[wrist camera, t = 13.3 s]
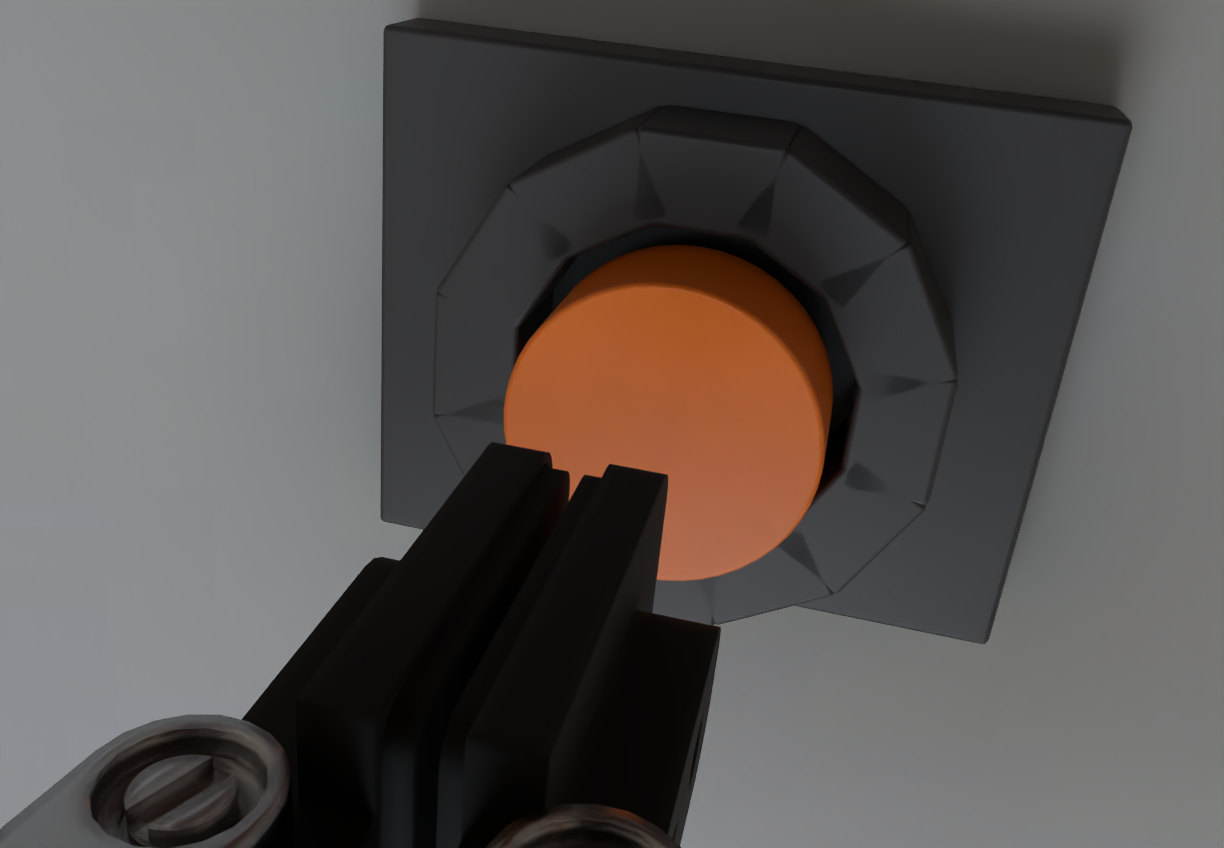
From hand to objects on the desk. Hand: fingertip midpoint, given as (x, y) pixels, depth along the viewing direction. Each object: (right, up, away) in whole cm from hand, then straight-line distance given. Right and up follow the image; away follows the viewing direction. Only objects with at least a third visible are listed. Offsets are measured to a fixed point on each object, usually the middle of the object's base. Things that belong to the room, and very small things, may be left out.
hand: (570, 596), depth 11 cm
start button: (+1, +2, +5) cm, 5 cm away
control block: (+2, +3, +7) cm, 8 cm away
